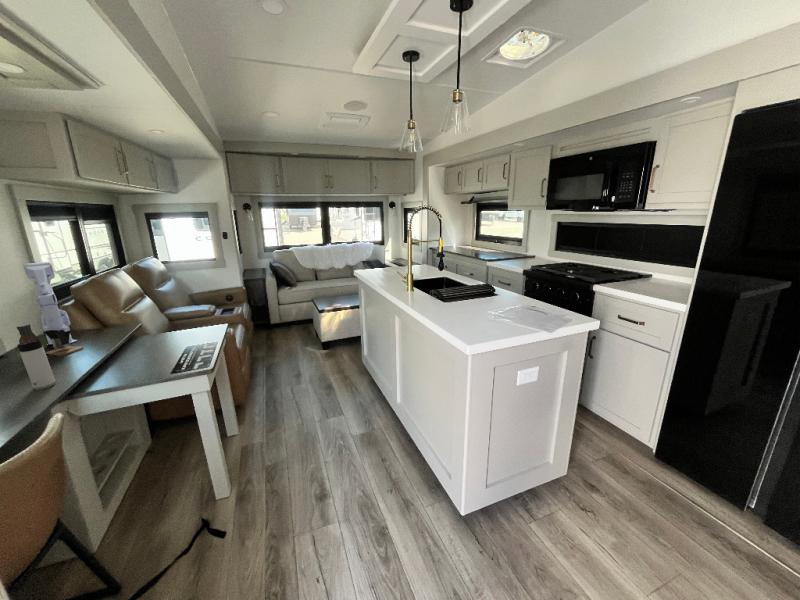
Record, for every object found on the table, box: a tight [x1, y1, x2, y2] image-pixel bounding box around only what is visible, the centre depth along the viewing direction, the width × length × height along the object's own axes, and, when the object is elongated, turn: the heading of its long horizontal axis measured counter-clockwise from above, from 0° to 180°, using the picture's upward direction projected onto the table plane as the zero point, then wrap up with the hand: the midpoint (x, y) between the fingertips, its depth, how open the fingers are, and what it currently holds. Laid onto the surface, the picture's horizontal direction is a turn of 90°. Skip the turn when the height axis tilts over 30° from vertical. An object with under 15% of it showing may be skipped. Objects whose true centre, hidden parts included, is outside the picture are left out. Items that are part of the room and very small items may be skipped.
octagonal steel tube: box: [51, 336, 71, 349], centre depth 162 cm, size 6×6×5 cm
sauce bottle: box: [16, 323, 41, 344], centre depth 147 cm, size 6×6×20 cm
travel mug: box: [16, 339, 57, 391], centre depth 129 cm, size 6×7×20 cm
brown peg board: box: [45, 345, 84, 357], centre depth 162 cm, size 12×9×6 cm
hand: (61, 343), depth 162 cm, fingers closed on octagonal steel tube, 5 cm apart
